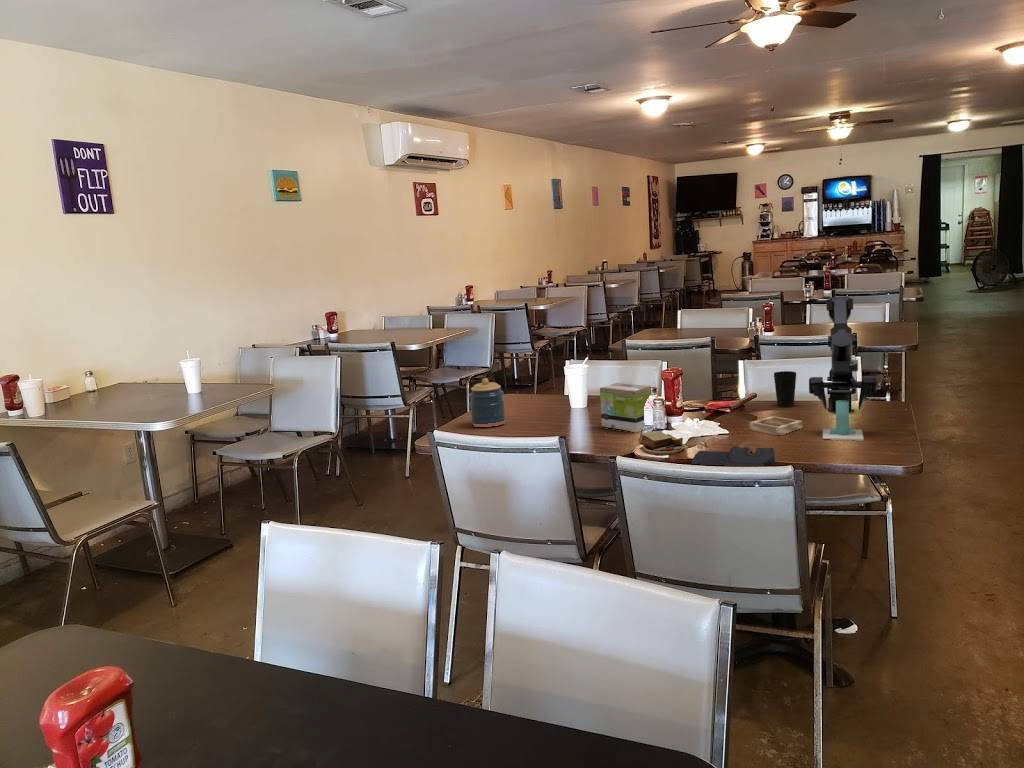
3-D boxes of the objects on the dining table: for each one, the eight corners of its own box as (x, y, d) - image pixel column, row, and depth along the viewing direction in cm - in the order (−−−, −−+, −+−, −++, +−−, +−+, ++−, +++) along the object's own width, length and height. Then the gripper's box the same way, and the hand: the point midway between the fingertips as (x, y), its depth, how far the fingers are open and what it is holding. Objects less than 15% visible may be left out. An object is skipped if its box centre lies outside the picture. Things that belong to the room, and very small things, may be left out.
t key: (829, 432, 230) (829, 400, 228) (855, 432, 227) (854, 400, 225) (830, 435, 226) (829, 402, 225) (855, 435, 224) (855, 402, 222)
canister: (484, 430, 272) (480, 382, 269) (465, 425, 282) (460, 379, 279) (513, 423, 279) (509, 376, 276) (493, 419, 290) (489, 374, 287)
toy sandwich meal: (655, 458, 220) (654, 442, 219) (634, 448, 233) (633, 433, 232) (692, 451, 224) (692, 436, 223) (669, 442, 237) (669, 427, 236)
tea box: (601, 428, 260) (598, 387, 258) (618, 422, 267) (616, 381, 265) (636, 433, 250) (634, 390, 247) (654, 427, 256) (652, 384, 254)
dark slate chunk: (697, 456, 219) (696, 441, 218) (777, 459, 210) (776, 442, 210) (688, 472, 205) (687, 455, 204) (773, 475, 196) (773, 457, 196)
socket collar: (772, 423, 248) (772, 416, 248) (802, 428, 239) (802, 421, 238) (749, 430, 242) (749, 422, 242) (779, 435, 233) (779, 427, 232)
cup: (793, 402, 276) (793, 370, 274) (799, 407, 268) (798, 374, 266) (772, 404, 276) (771, 372, 274) (777, 408, 269) (776, 375, 267)
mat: (822, 430, 234) (822, 429, 234) (861, 431, 230) (861, 429, 230) (822, 439, 224) (822, 438, 224) (863, 440, 220) (863, 438, 220)
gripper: (808, 351, 230) (808, 393, 222) (876, 349, 222) (878, 393, 214) (809, 372, 238) (809, 413, 230) (874, 371, 231) (876, 414, 223)
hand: (842, 408), depth 224 cm, fingers open, 9 cm apart
